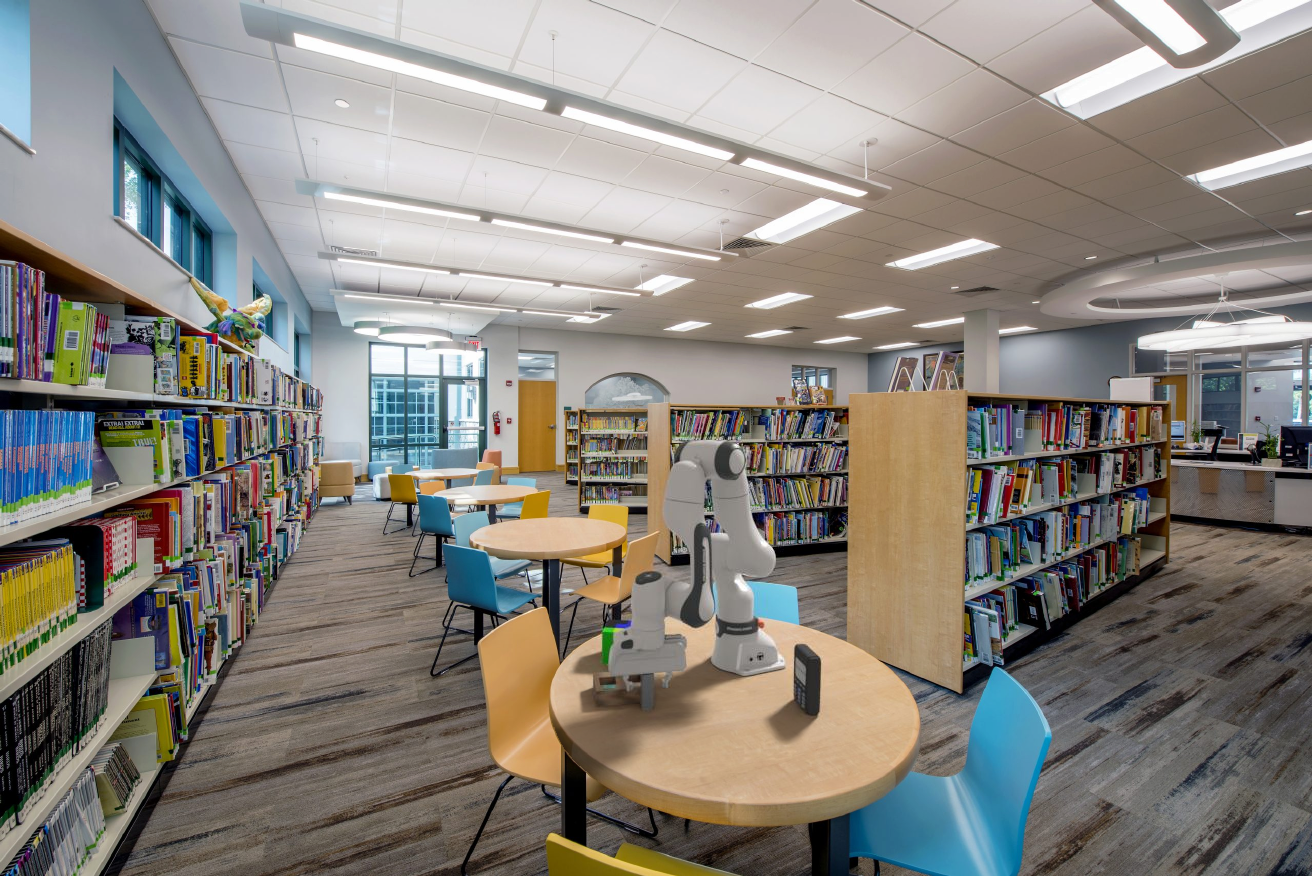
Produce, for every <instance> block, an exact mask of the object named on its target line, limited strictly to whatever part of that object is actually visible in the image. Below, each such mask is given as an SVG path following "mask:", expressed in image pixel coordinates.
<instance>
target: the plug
mask: <svg viewBox="0 0 1312 876" xmlns="http://www.w3.org/2000/svg"><path fill="white" fill-rule="evenodd" d="M654 703H655V673H649V674H641V688H640V703H639V704H640V707H641V711H642V710H653V709H654V708H655V706H654V705H655V704H654Z"/></svg>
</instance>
